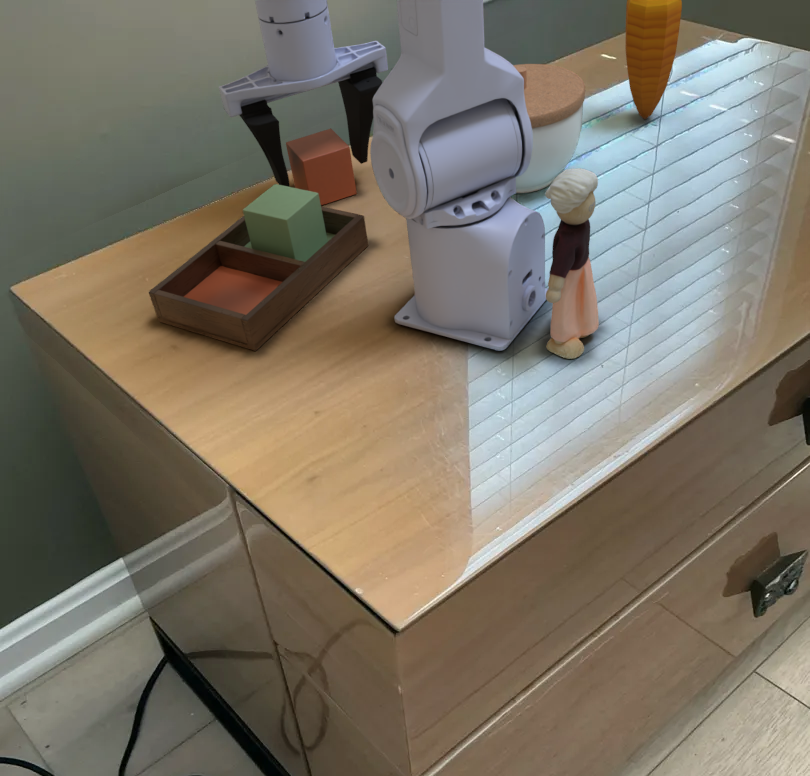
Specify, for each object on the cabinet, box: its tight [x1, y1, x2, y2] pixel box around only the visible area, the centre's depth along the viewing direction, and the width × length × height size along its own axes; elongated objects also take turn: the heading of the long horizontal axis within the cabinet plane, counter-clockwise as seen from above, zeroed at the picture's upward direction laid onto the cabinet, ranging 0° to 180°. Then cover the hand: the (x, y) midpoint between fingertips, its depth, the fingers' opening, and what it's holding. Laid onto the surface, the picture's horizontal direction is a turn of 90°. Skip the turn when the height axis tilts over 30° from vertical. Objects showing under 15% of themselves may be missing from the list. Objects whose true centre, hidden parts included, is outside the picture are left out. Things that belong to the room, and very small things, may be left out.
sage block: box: [242, 183, 328, 262], centre depth 78 cm, size 4×4×4 cm
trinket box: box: [512, 63, 586, 194], centre depth 82 cm, size 11×11×9 cm
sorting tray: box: [148, 205, 369, 351], centre depth 78 cm, size 10×16×3 cm, turn 149°
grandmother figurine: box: [544, 167, 600, 360], centre depth 65 cm, size 8×4×13 cm, turn 168°
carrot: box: [624, 0, 683, 120], centre depth 85 cm, size 5×5×15 cm
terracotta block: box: [285, 128, 358, 206], centre depth 86 cm, size 4×4×4 cm
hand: (321, 170), depth 87 cm, fingers open, 7 cm apart
